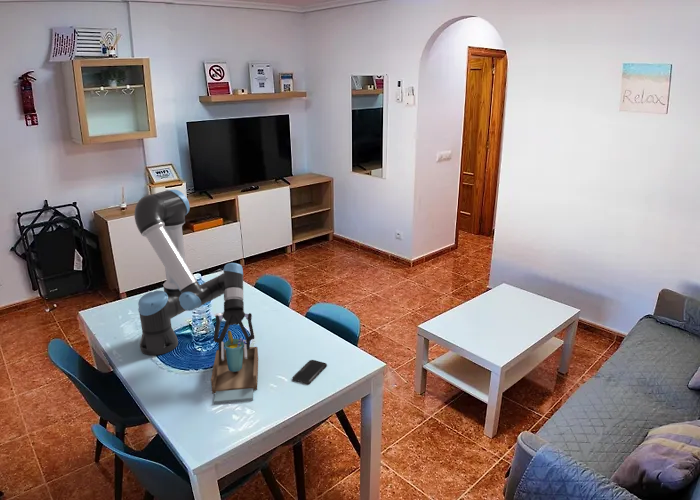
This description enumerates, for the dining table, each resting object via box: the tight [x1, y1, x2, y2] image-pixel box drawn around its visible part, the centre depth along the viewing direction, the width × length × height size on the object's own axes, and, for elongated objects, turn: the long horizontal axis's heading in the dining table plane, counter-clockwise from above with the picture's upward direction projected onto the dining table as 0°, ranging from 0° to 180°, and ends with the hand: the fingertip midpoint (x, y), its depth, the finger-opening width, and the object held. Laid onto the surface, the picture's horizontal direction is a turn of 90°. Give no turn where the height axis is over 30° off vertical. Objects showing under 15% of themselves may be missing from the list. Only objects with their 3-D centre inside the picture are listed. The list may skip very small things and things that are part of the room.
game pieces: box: [214, 311, 224, 318], centre depth 245 cm, size 12×3×3 cm, turn 153°
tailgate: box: [213, 388, 255, 405], centre depth 182 cm, size 13×1×6 cm
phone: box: [291, 359, 328, 385], centre depth 197 cm, size 8×1×15 cm
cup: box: [224, 330, 247, 372], centre depth 192 cm, size 14×8×15 cm, turn 46°
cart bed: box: [210, 346, 259, 394], centre depth 195 cm, size 16×21×6 cm
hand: (234, 358), depth 189 cm, fingers closed on cup, 8 cm apart
